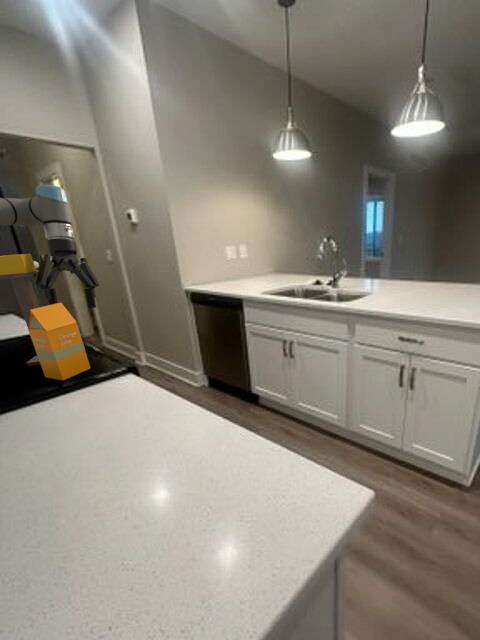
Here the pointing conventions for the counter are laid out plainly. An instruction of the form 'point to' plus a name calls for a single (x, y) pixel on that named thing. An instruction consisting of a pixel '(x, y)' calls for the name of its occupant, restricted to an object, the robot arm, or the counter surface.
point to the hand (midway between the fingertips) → (74, 309)
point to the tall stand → (25, 298)
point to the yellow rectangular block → (17, 264)
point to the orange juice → (57, 342)
